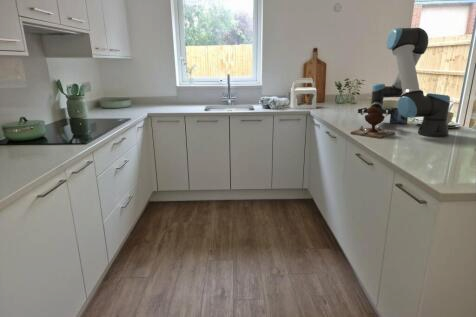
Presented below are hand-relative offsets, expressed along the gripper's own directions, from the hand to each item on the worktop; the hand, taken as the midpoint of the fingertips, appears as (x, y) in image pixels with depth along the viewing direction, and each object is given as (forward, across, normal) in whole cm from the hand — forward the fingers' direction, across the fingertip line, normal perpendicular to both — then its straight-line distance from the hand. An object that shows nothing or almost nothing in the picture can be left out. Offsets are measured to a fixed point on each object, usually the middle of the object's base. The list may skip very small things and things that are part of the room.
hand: (374, 113), depth 194 cm
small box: (-33, -15, -11) cm, 38 cm away
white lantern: (-95, +67, -12) cm, 116 cm away
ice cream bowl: (+7, 0, -10) cm, 12 cm away
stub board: (+7, 0, -11) cm, 13 cm away
